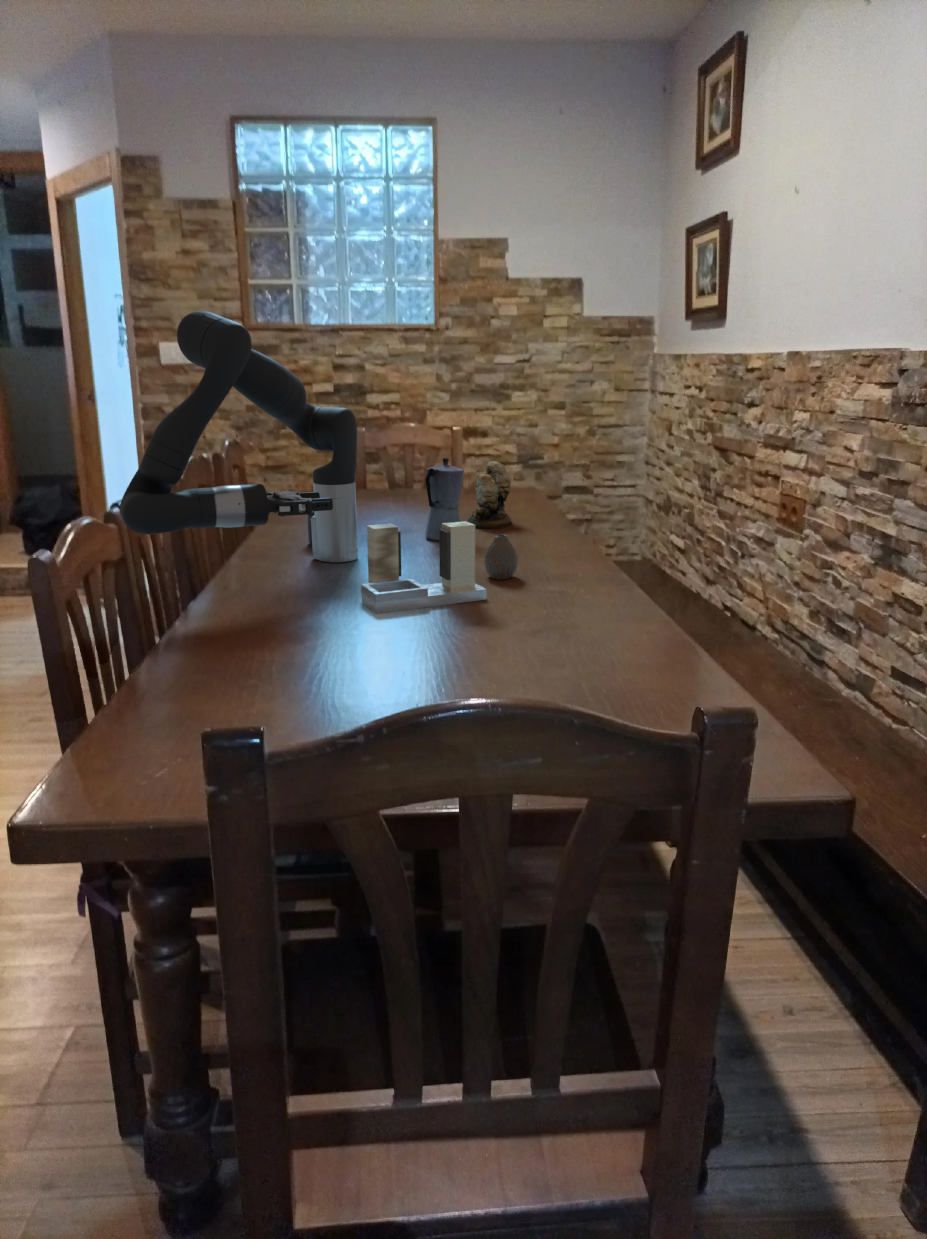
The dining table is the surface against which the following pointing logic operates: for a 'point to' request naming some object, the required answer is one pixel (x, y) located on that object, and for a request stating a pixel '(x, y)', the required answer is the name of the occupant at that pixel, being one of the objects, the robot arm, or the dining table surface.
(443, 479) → the moka pot
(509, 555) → the vase
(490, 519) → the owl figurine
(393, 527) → the tall beige block
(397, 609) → the grey stand with upright
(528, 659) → the dining table surface
